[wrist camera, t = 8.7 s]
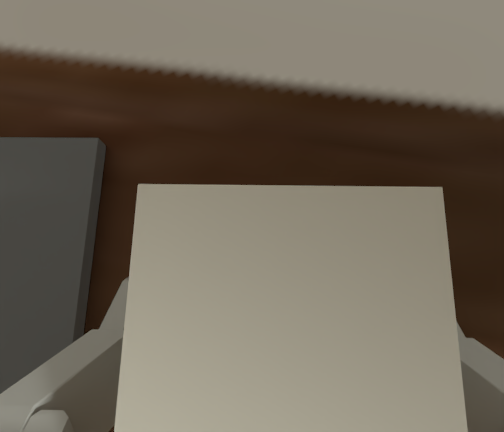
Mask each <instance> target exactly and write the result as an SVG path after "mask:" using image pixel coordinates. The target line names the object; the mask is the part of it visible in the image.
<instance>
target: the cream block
mask: <svg viewBox="0 0 504 432" xmlns="http://www.w3.org/2000/svg"><path fill="white" fill-rule="evenodd" d="M114 432H468V429H467V420H466V410H465V400H464V391H463V381H462V371H461V362H460V352H459V343H458V333H457V323H456V314H455V304H454V294H453V285H452V275H451V266H450V256H449V246H448V237H447V227H446V217H445V208H444V198H443V189H442V187H391V186H293V185H196V184H138V188H137V199H136V209H135V220H134V230H133V240H132V251H131V261H130V271H129V282H128V292H127V302H126V313H125V323H124V334H123V344H122V354H121V365H120V375H119V385H118V396H117V406H116V416H115V427H114Z"/></svg>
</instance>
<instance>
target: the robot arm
mask: <svg viewBox="0 0 504 432" xmlns="http://www.w3.org/2000/svg"><path fill="white" fill-rule="evenodd" d="M128 282H129V277H127V278H126V279H124V280H123V281H122V283H121V285H120V287H119V289H118V291H117V293H116V295H115V297H114V299H113V301H112V303H111V305H110V307H109V309H108V311H107V313H106V315H105V317H104V319H103V321H102V323H101V325H100V327H99V329H92V330H90V331H89V332H88V333H86V334H85V335H83V336H82V337H80V338H79V339H78V340H76V341H75V342H73V343H72V344H71V345H69V346H68V347H66V348H65V349H63V350H62V351H61V352H59V353H58V354H56V355H55V356H54V357H52V358H51V359H49V360H48V361H46V362H45V363H44V364H42V365H41V366H39V367H38V368H37V369H35V370H34V371H32V372H31V373H29V374H28V375H27V376H25V377H24V378H22V379H21V380H20V381H18V382H17V383H15V384H14V385H12V386H11V387H10V388H8V389H7V390H5V391H4V392H3V393H1V394H0V432H109V430H110V429H111V428H112V427H113V426H114V425H115V416H116V406H117V396H118V385H119V375H120V365H121V354H122V344H123V334H124V323H125V313H126V302H127V292H128ZM456 323H457V321H456ZM457 333H458V343H459V352H460V362H461V371H462V381H463V391H464V400H465V410H466V420H467V429H468V432H504V359H503V358H501V357H500V356H498V355H497V354H495V353H494V352H492V351H491V350H490V349H488V348H487V347H485V346H484V345H482V344H481V343H479V342H478V341H477V340H475V339H474V338H466V337H465V335H464V333H463V332H462V330H461V328H460V327H459V325H458V323H457Z"/></svg>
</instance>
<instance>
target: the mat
mask: <svg viewBox="0 0 504 432" xmlns="http://www.w3.org/2000/svg"><path fill="white" fill-rule="evenodd" d="M105 152H106V145H105V144H104V143H103V142H102V141H101V140H100V139H99V138H37V137H0V394H1V393H3V392H4V391H5V390H7V389H8V388H10V387H11V386H12V385H14V384H15V383H17V382H18V381H20V380H21V379H22V378H24V377H25V376H27V375H28V374H29V373H31V372H32V371H34V370H35V369H37V368H38V367H39V366H41V365H42V364H44V363H45V362H46V361H48V360H49V359H51V358H52V357H54V356H55V355H56V354H58V353H59V352H61V351H62V350H63V349H65V348H66V347H68V346H69V345H71V344H72V343H73V342H75V341H76V340H78V339H79V338H80V337H82V336H83V335H84V327H85V318H86V310H87V302H88V293H89V285H90V277H91V269H92V260H93V252H94V244H95V235H96V227H97V219H98V210H99V202H100V194H101V186H102V177H103V169H104V161H105Z"/></svg>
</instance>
